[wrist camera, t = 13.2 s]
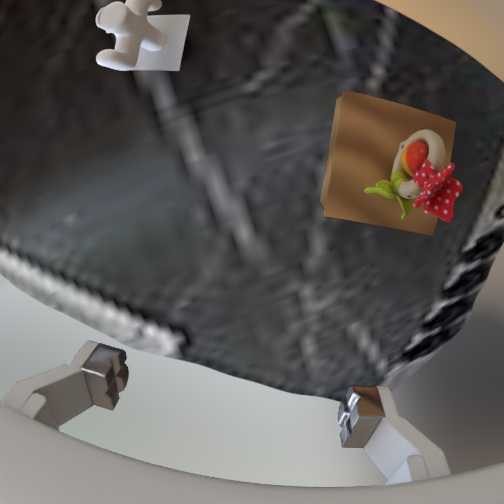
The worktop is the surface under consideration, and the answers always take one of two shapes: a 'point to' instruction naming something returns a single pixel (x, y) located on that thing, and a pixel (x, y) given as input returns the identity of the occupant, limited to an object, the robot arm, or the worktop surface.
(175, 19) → the figurine
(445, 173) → the bird rattle
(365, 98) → the wooden block
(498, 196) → the worktop surface
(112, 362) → the robot arm
